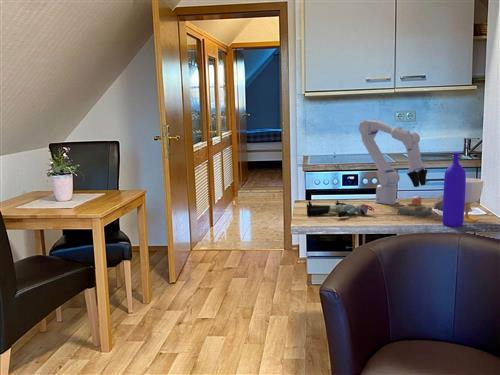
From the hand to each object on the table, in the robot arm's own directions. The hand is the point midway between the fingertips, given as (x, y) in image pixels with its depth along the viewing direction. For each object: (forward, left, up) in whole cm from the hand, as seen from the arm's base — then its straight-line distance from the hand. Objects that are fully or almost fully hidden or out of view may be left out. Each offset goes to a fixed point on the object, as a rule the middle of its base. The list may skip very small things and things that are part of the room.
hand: (420, 186), depth 242 cm
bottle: (+23, -23, -11) cm, 35 cm away
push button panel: (+3, -11, -11) cm, 16 cm away
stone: (+13, +8, -11) cm, 19 cm away
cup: (+25, -9, -11) cm, 29 cm away
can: (-1, 0, -11) cm, 11 cm away
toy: (-25, -31, -11) cm, 41 cm away
